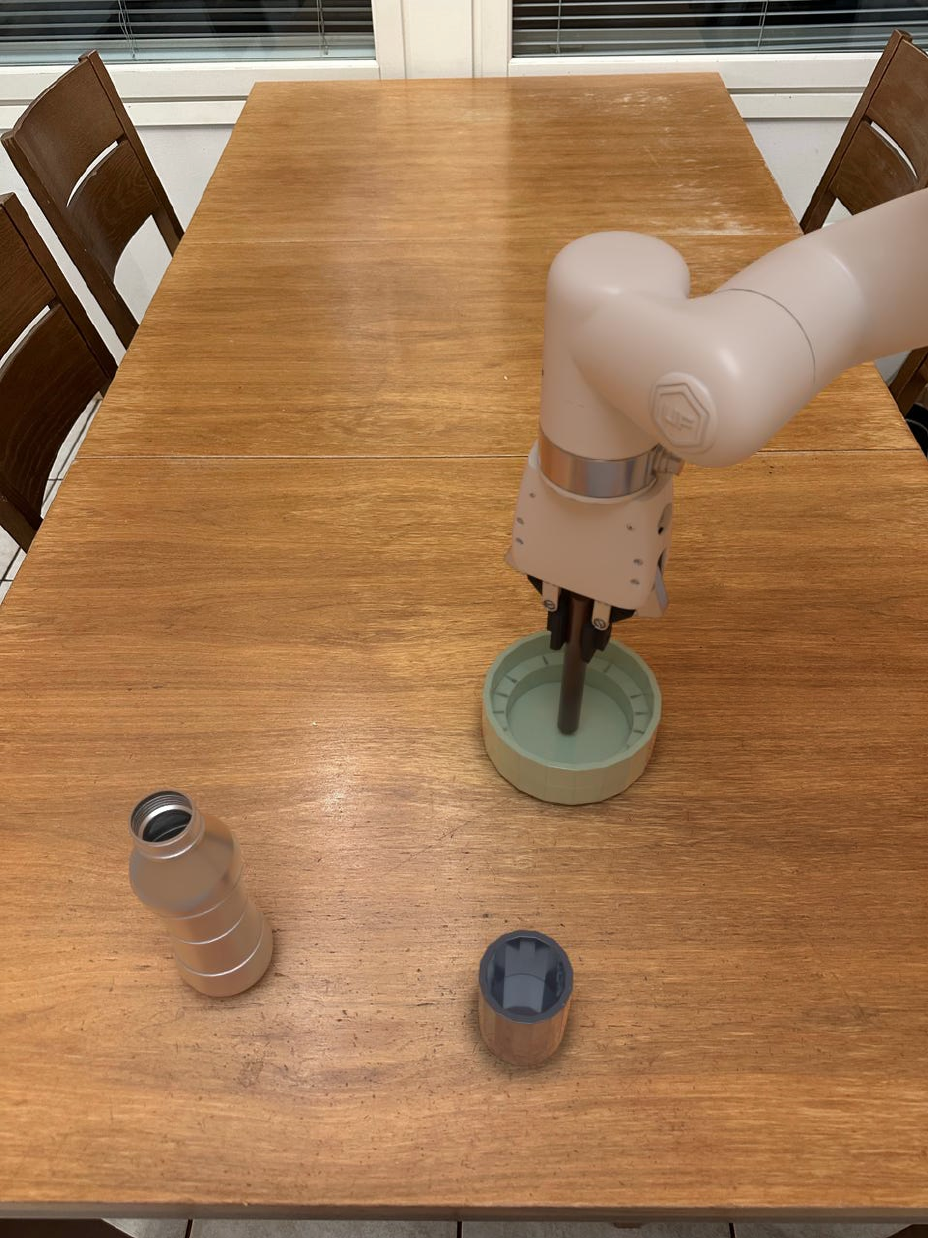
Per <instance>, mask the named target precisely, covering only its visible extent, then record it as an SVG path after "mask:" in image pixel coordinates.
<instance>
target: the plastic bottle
mask: <svg viewBox="0 0 928 1238" xmlns="http://www.w3.org/2000/svg"><path fill="white" fill-rule="evenodd" d="M127 827H128V832H129V834H130V836H131V838H132V841H133V842H132V843H133V844H134V845H133V846H132V850H131V852H130V855H129V859H128V860H129V861H128V880H129V885H130V887H131V889H132V892H133V894H134V895H135V896H136V897H137V899H138V900H139V902H141V904H142V905H143V906H144V907H145V908H146V909H147V910H148V911H150V913H151V914H152V915H153V916H155V917H156V919H158V920H159V921H160V923H161V924H162V926H163V927H164V928H165V930H166V932H167V933H168V935H169V938H170V942H171V944H172V953H173V959H174V962H175V964H174V965H175V967H176V969H177V971H178V974H179V976H181V978H182V980H183V981H184V982H185V983H186V984H188V985H189V987H190V986H191V987H192V988H193V989H195V991H197V992H199V993H201V994H203V995H205V996H210V997H214V998H225V997H231V996H234V995H238V994H240V993H243V992H245V991H246V990H248V989H250V988H251V987H252V986H254V985H255V984H256V983H258V982H259V980H260V979H261V978H262V977H263V976H264V975H265V973H266V971H267V969H268V968H269V966H270V963H271V961H272V957H273V951H274V936H273V934H274V933H273V930H272V927H271V923H270V922H269V920H268V918H267V917H266V916H265V914H264V913H263V911H262V910H261V908H259V907H258V905H256V904H255V903H254V902H253V900H252V898H251V896H250V895H249V893H248V890H247V887H246V883H245V878H244V867H243V866H244V864H243V853H242V850H241V845H240V841H239V839H238V837H237V835H236V833H235V831H233V830H232V828H231V827H230V826H229V825H227V824H226V823H225V822H224V821H223V820H221V819H220V818H218V817H217V816H215V815H212V814H211V813H208V812H203V811H200V809H199V807H197V806H196V803H195V802H194V800H193V799H192V798H191V797H190V795H188V794H187V793H186V792H184V791H182V790H179V789H174V788H163V789H157V790H154V791H152V792H149V793H148V794H146V795H144V796H142V797H141V798H140V799H139V800H137V802H136V803H135V804H134V805H133V806H132V808H131V810H130V812H129V814H128V819H127Z"/></svg>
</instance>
